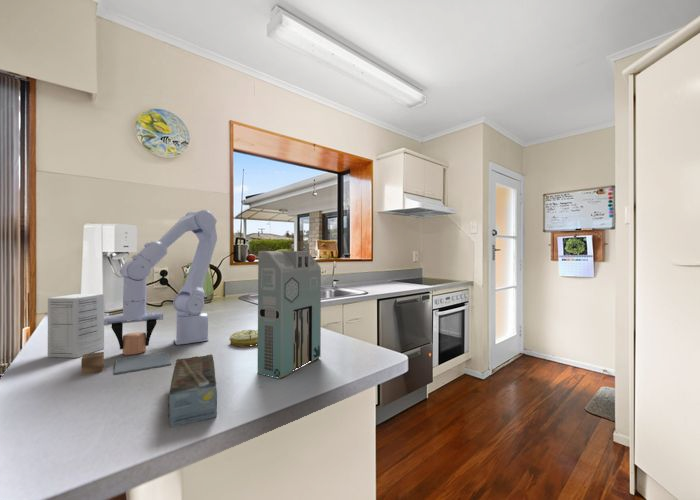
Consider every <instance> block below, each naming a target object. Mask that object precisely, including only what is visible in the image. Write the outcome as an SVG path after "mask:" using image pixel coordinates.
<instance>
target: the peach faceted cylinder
mask: <svg viewBox="0 0 700 500" xmlns="http://www.w3.org/2000/svg"><path fill="white" fill-rule="evenodd" d="M122 336H123V349H122V355H126V356H127V355H137V354H141V353H144V352H146V351H147V346H146V331H145V332H142V331H138V332H137V331H136V332H131V333H130V332H129V333H126V334H122Z"/></svg>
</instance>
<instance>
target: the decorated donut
mask: <svg viewBox="0 0 700 500" xmlns="http://www.w3.org/2000/svg"><path fill="white" fill-rule="evenodd" d="M229 342H230V344H231V345H233V346H234V345H237V346H236V347H241V346H247V347H251V346H250V345H255V346H257V345H256V344H258V329H247V330H246V329H245V330H241V331H235V332H234V333H231V334H230V336H229Z"/></svg>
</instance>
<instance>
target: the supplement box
mask: <svg viewBox="0 0 700 500" xmlns="http://www.w3.org/2000/svg"><path fill="white" fill-rule="evenodd" d="M104 318H105V294H104V293H75V294H69V295H68V294H67V295H60V296H53V297H52V296H51V297H47V358H70V359H76V358H79V357H80V358H81V357H83V355H84V354H91V353H96V352H99V351H100V350H104V349H105V326H104Z"/></svg>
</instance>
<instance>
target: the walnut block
mask: <svg viewBox="0 0 700 500" xmlns="http://www.w3.org/2000/svg"><path fill="white" fill-rule="evenodd" d="M80 360H81V366H80V367H81V368H80V369H81V371H80V372H81V373H80V375H81V376H84V375H92V374H96V373H97V374H98V373H103V372H104V367H105V366H104V365H105V363H104V362H105V361H104V360H105V352H104V351H97V352H92V353H89V354H84V355H83V356H81V359H80Z"/></svg>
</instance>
